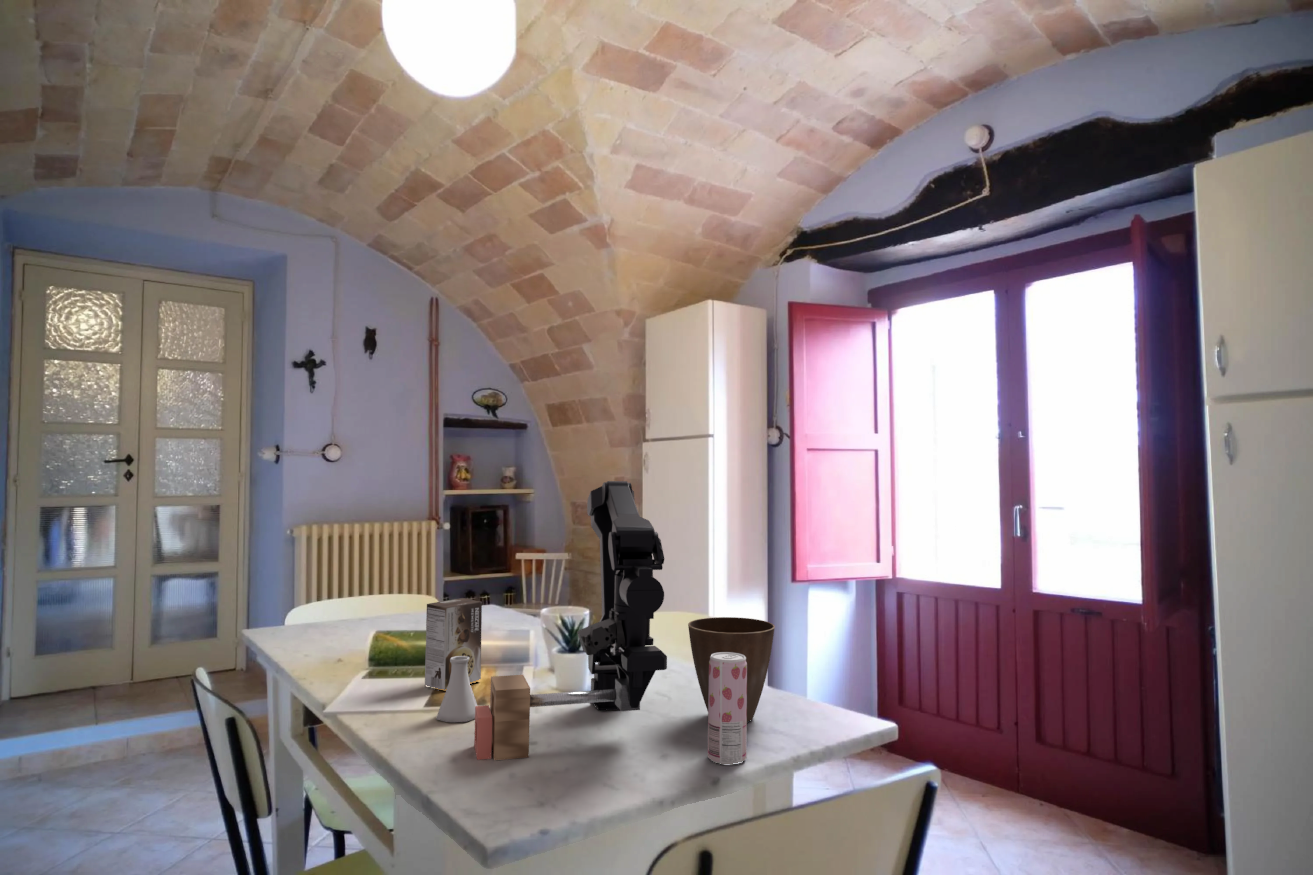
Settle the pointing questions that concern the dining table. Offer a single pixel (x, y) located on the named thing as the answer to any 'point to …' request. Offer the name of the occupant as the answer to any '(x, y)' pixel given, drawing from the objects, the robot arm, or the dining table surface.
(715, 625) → the plant pot
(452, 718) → the flask
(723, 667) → the beverage can
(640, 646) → the robot arm
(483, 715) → the block
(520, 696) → the block
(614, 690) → the shaft
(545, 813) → the dining table surface
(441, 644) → the coffee box
